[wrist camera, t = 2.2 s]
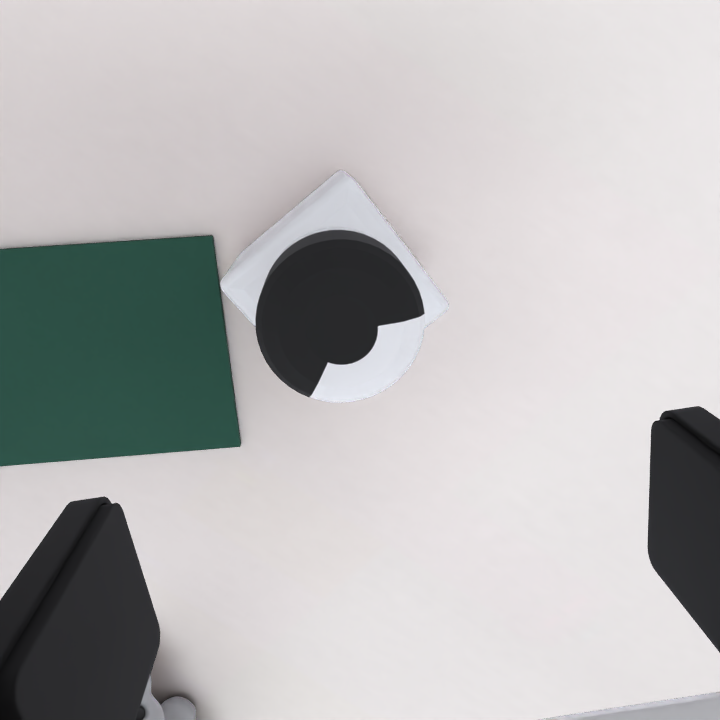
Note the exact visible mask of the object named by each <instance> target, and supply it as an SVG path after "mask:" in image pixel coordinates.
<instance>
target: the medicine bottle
mask: <svg viewBox="0 0 720 720" xmlns="http://www.w3.org/2000/svg"><path fill="white" fill-rule="evenodd" d="M220 287H221V289H222V291H223V292H224V293H225V294H226V295H227V297H228V298H229V299H230V300H231V301H232V302H233V303H234V304H235V305H236V306H237V308H238V309H239V310H240V311H241V312H242V313H243V314H244V315H245V316H246V317H247V319H248V320H249V321H250V322H251V323H252V324H253V325H254V326H255V327H256V334H257V340H258V343H259V346H260V349H261V352H262V354H263V356H264V358H265V360H266V362H267V364H268V365H269V366H270V368H271V369H272V371H273V372H274V373H275V374H276V375H277V376H278V377H279V378H280V380H282V381H283V382H284V383H285V384H287V385H288V386H289V387H290V388H292V389H294V390H295V391H297V392H299V393H301V394H303V395H305V396H307V397H310V398H313V399H317V400H320V401H326V402H339V403H343V402H353V401H358V400H362V399H366V398H369V397H371V396H374V395H376V394H378V393H380V392H382V391H384V390H386V389H387V388H388V387H390V386H391V385H393V384H394V383H395V382H396V381H397V380H398V379H399V378H401V377H402V376H403V375H404V373H405V372H406V371H407V370H408V368H409V367H410V366H411V364H412V363H413V361H414V359H415V358H416V355H417V353H418V351H419V349H420V346H421V343H422V339H423V335H424V328H426V327H427V326H428V325H430V324H431V323H432V322H433V321H435V320H436V319H437V318H439V317H440V316H441V315H443V314H444V313H445V312H446V311H447V310H448V307H449V303H448V300H447V299H446V297H445V296H444V295H443V293H442V292H441V291H440V290H439V288H438V287H437V286H436V284H435V283H434V282H433V280H432V279H431V278H430V277H429V275H428V274H427V273H426V271H425V270H424V269H423V267H422V266H421V265H420V263H419V262H418V261H417V260H416V258H415V257H414V256H413V254H412V253H411V252H410V250H409V249H408V248H407V246H406V245H405V244H404V243H403V241H402V240H401V239H400V237H399V236H398V235H397V233H396V232H395V231H394V230H393V228H392V227H391V226H390V224H389V223H388V222H387V220H386V219H385V218H384V216H383V215H382V214H381V213H380V211H379V210H378V209H377V207H376V206H375V205H374V203H373V202H372V201H371V200H370V198H369V197H368V196H367V194H366V193H365V192H364V190H363V189H362V188H361V186H360V185H359V184H358V183H357V181H356V180H355V179H354V178H353V177H351V176H350V175H349V174H348V173H347V172H345V171H343V170H339V171H337V172H336V173H335V174H333V175H332V176H331V177H330V178H329V179H328V180H326V181H325V182H324V183H323V184H322V185H320V186H319V187H318V188H317V189H316V190H314V191H313V192H312V193H311V194H310V195H309V196H307V197H306V198H305V199H304V200H303V201H301V202H300V203H299V204H298V205H297V206H296V207H294V208H293V209H292V210H291V211H290V212H288V213H287V214H286V215H285V216H284V217H282V218H281V219H280V220H279V221H278V222H277V223H275V224H274V225H273V226H272V227H271V228H269V229H268V230H267V231H266V232H265V233H263V234H262V235H261V236H260V237H259V238H258V239H256V240H255V241H254V242H253V243H252V244H250V245H249V246H248V247H247V248H246V249H245V250H243V251H242V252H241V253H240V254H239V256H238V257H237V259H236V260H235V261H234V263H233V264H232V266H231V267H230V269H229V270H228V272H227V273H226V275H225V276H224V277H223V279H222V280H221V282H220Z"/></svg>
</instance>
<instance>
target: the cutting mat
mask: <svg viewBox="0 0 720 720" xmlns="http://www.w3.org/2000/svg"><path fill="white" fill-rule="evenodd" d="M240 445H241V440H240V433H239V426H238V418H237V411H236V403H235V396H234V388H233V381H232V373H231V366H230V359H229V351H228V344H227V336H226V329H225V321H224V314H223V307H222V299H221V292H220V284H219V277H218V269H217V262H216V254H215V247H214V240H213V236H212V235H210V236H195V237H179V238H164V239H148V240H132V241H117V242H101V243H86V244H70V245H55V246H39V247H24V248H8V249H0V466H9V465H21V464H33V463H46V462H58V461H70V460H83V459H95V458H107V457H120V456H132V455H144V454H156V453H169V452H181V451H193V450H206V449H218V448H230V447H240Z"/></svg>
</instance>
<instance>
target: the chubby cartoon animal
mask: <svg viewBox="0 0 720 720" xmlns="http://www.w3.org/2000/svg"><path fill="white" fill-rule="evenodd" d="M136 720H196V708H195V706H194V705H193V703H192V702H190V701H189V700H188V699H186V698H183V697H178V696H176V697H171V698H169V699H167V700H165V701H164V702H163V703H162V704H161V705H160V704H159V702H158V701H157V700H156V699H155V698H154V696H153V695H152V693H151V676H150V677H149V680H148V683H147V686H146V689H145V692H144V695H143V699H142V702H141V705H140V708H139V711H138V714H137V717H136Z"/></svg>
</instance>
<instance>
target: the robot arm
mask: <svg viewBox="0 0 720 720" xmlns="http://www.w3.org/2000/svg"><path fill="white" fill-rule="evenodd" d="M648 554H649V558H650V561H651V564H652V566H653V568H654V569H655V571H656V572H657V573H658V575H659V576H660V577H661V579H662V580H663V581H664V582H665V584H666V585H667V586H668V587H669V589H670V590H671V591H672V592H673V594H674V595H675V596H676V598H677V599H678V600H679V601H680V603H681V604H682V605H683V606H684V608H685V609H686V610H687V611H688V613H689V614H690V615H691V617H692V618H693V619H694V620H695V622H696V623H697V624H698V625H699V627H700V628H701V629H702V630H703V632H704V633H705V634H706V636H707V637H708V638H709V639H710V641H711V642H712V643H713V644H714V646H715V647H716V648H717V649H718V651H719V652H720V419H718V418H717V417H715V416H714V415H712V414H711V413H710V412H708V411H707V410H705V409H704V408H702V407H699V406H697V407H689V408H683V409H676V410H670V411H665V412H663V413H662V415H661V417H660V420H659V421H655V422H654V423H653V425H652V429H651V455H650V488H649V520H648ZM159 644H160V628H159V624H158V620H157V617H156V614H155V611H154V608H153V604H152V601H151V598H150V595H149V592H148V588H147V585H146V582H145V579H144V576H143V573H142V569H141V566H140V563H139V560H138V557H137V554H136V550H135V547H134V544H133V541H132V538H131V535H130V531H129V528H128V525H127V522H126V519H125V516H124V512H123V510H122V507H121V506H120V505H119V504H118V503H114V504H111V502H110V500H109V499H108V498H106V497H99V498H92V499H85V500H79V501H73V502H70V503H69V504H68V505H67V506H66V507H65V509H64V510H63V512H62V513H61V514H60V516H59V517H58V519H57V520H56V522H55V523H54V524H53V526H52V527H51V529H50V530H49V532H48V533H47V534H46V536H45V537H44V539H43V540H42V542H41V543H40V544H39V546H38V547H37V549H36V550H35V552H34V553H33V554H32V556H31V557H30V559H29V560H28V562H27V563H26V564H25V566H24V567H23V569H22V570H21V572H20V573H19V574H18V576H17V577H16V579H15V580H14V582H13V583H12V584H11V586H10V587H9V589H8V590H7V592H6V593H5V594H4V596H3V597H2V599H1V600H0V720H136V717H137V714H138V711H139V708H140V705H141V702H142V699H143V695H144V692H145V689H146V686H147V683H148V680H149V677H150V674H151V670H152V667H153V664H154V661H155V658H156V655H157V652H158V648H159ZM539 720H720V692H715V693H709V694H702V695H695V696H689V697H682V698H676V699H669V700H663V701H656V702H650V703H643V704H637V705H630V706H623V707H617V708H610V709H604V710H597V711H591V712H584V713H578V714H571V715H565V716H558V717H552V718H546V719H539Z"/></svg>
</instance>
